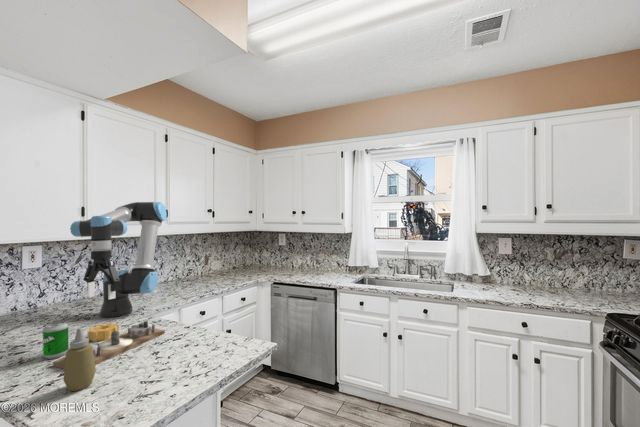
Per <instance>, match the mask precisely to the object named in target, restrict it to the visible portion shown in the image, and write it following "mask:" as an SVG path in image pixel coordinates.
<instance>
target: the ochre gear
mask: <svg viewBox="0 0 640 427" xmlns="http://www.w3.org/2000/svg"><path fill="white" fill-rule="evenodd" d="M113 331H118V332H119V324H118V323H113V322H111V323H104V324H99V325H97V326H93V327H89V329H88V330H87V338H88V339H89V342H90V341H91V342H93V343H94V342H96V343H97V342H100V341H108V340H110V339H111V334H112V332H113Z"/></svg>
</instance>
